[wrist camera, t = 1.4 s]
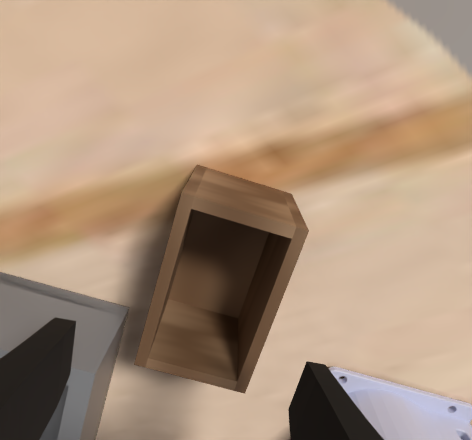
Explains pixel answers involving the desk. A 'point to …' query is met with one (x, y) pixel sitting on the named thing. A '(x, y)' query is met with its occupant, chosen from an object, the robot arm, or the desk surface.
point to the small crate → (221, 279)
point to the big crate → (84, 350)
